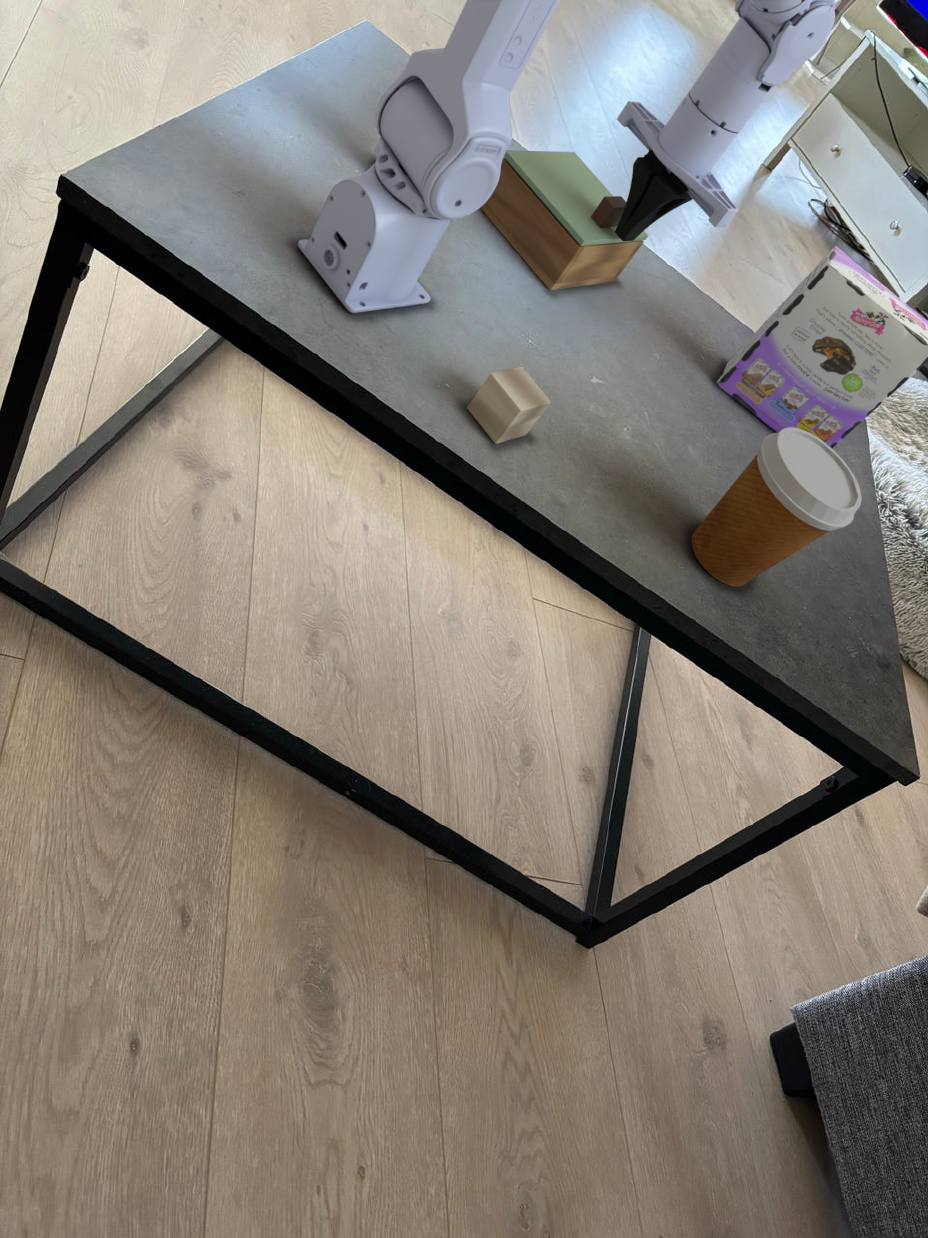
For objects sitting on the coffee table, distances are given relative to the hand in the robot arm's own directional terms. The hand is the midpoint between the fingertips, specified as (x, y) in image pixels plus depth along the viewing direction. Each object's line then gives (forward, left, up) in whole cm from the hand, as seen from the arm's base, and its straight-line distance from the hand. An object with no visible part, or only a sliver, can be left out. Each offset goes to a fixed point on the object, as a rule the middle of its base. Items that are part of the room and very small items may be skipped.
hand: (624, 236), depth 95 cm
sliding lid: (0, +7, -1) cm, 7 cm away
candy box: (+13, -20, -7) cm, 25 cm away
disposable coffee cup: (-13, -31, -7) cm, 35 cm away
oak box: (0, +7, -7) cm, 9 cm away
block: (-26, -12, -7) cm, 30 cm away
